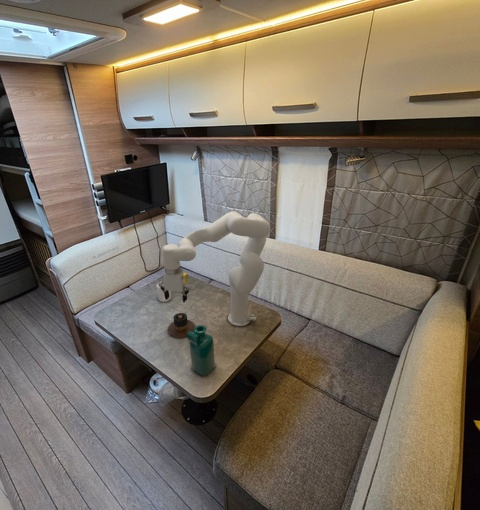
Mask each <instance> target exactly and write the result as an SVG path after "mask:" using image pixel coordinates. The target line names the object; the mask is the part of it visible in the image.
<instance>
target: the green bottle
mask: <svg viewBox="0 0 480 510" xmlns="http://www.w3.org/2000/svg"><path fill="white" fill-rule="evenodd" d="M207 329H208V328H207V327H206V326H205V325H203V324H199V325H196V326H195V328H194V332H190V331H189V332H188V333H187V337H186V338H187V340H188V342H189V343H188V344H189V353H190V361H191V368H192V370H193V371H194V372H195V373H197V374H198V375H201V376H203V377H204V376H207V375H209V373H210V372H211V371H212V370H214V368H215V366H216V363H215V362H216V361H215V349H214V348H215V346H214V345H215V344H214V337H213V336H212V335H211V334H209V333H207Z"/></svg>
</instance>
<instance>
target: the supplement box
mask: <svg viewBox="0 0 480 510" xmlns="http://www.w3.org/2000/svg"><path fill="white" fill-rule="evenodd" d="M183 275H184V278H185V284H187V285H188V286H189V278H188V277H189V276H188V275H189V274H188V272H183ZM185 289H186V291H187V288H185Z"/></svg>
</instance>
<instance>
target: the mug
mask: <svg viewBox="0 0 480 510" xmlns="http://www.w3.org/2000/svg"><path fill="white" fill-rule="evenodd" d="M159 283H160V282H158V283H156V285H155V287H156V294H157V298H158V301H159V302H161V303H167V302H169V301H171V299H172V291H169V298H168V299H167V300H165V296H164V293H163V291H162V290H161V289H160V287H159V285H158V284H159ZM163 286H164V284H163Z"/></svg>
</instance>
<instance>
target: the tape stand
mask: <svg viewBox="0 0 480 510" xmlns="http://www.w3.org/2000/svg"><path fill="white" fill-rule="evenodd" d="M178 319H183V317H182V315H179V316H178ZM187 322H188V323H187V325H186V326H183V327H176V326H175V325H174V321H172V322H171V323H170V324H169V326H168V328H167V330H168V331H167V332H168V334H169V335H170V336H171V337H173V338H176V339H184V338H188V337H187V333H188V332H189V331H190V332H194V328H195V327H196V326H195V323H194V322H193V321H192V320H189V319H187Z"/></svg>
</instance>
